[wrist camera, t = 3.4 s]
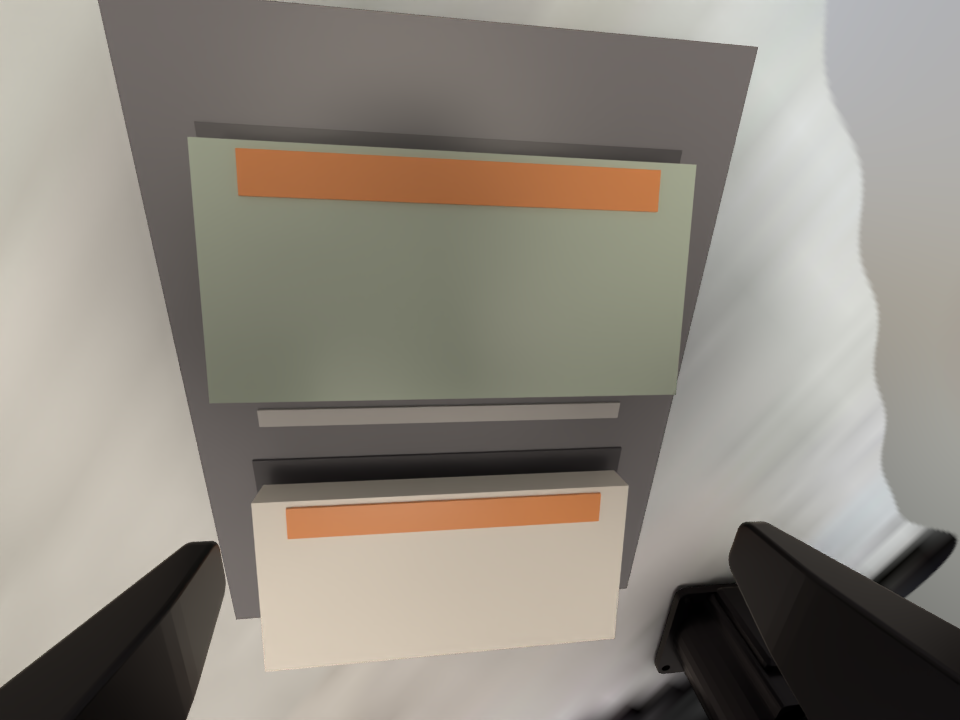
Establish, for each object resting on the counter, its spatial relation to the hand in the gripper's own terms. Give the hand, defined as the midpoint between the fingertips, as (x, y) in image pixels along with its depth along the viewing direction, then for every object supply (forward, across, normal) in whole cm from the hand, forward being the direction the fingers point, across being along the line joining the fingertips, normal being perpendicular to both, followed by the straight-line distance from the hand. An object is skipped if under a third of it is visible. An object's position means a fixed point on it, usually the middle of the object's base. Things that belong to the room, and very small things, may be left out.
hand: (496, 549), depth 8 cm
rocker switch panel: (+11, 0, +1) cm, 11 cm away
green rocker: (+7, 0, -3) cm, 8 cm away
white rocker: (+7, 0, +7) cm, 10 cm away
